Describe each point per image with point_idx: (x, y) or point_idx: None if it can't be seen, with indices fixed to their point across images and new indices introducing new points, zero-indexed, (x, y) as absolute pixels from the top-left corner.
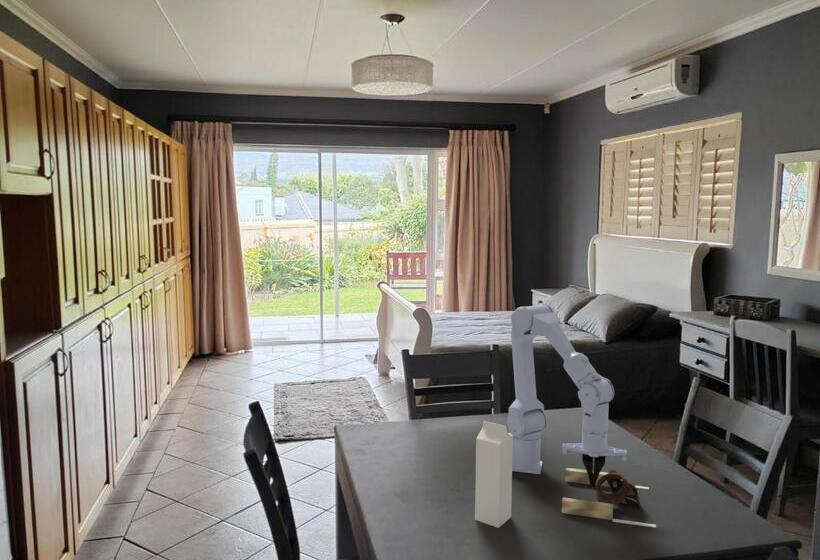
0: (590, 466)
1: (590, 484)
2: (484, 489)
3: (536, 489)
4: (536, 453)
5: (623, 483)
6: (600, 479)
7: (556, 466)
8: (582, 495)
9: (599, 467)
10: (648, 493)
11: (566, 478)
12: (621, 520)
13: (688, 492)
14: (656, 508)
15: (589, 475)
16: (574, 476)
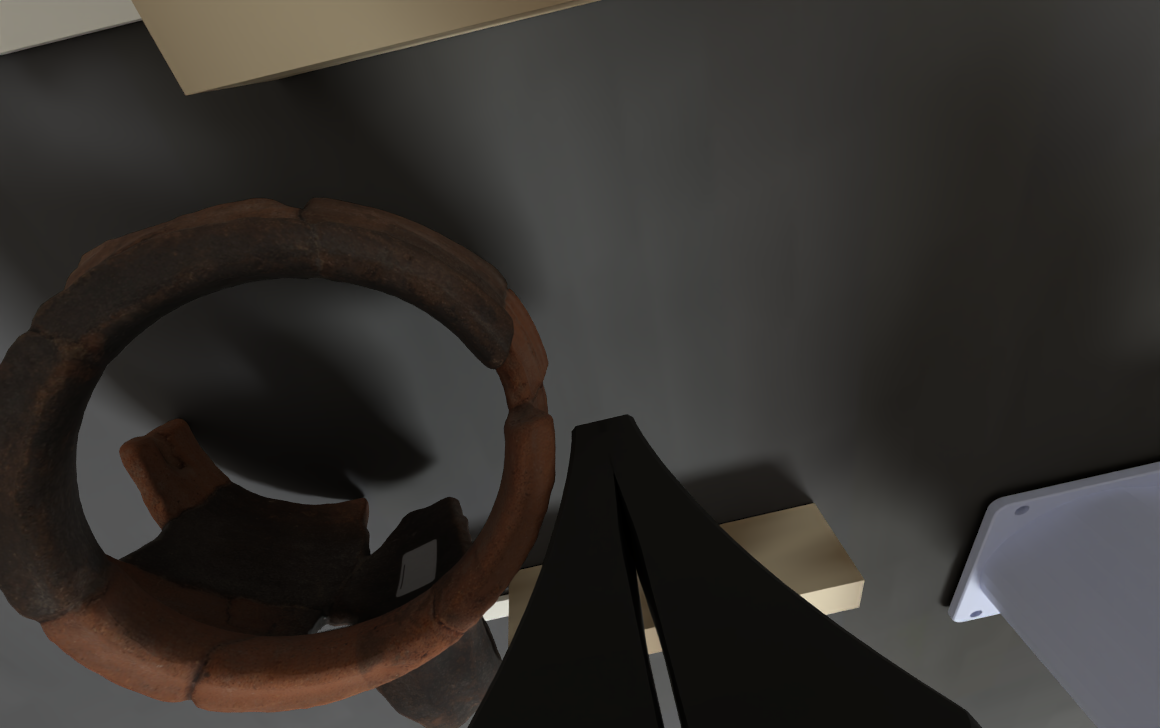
0: (732, 670)
1: (631, 426)
2: None
3: (1063, 288)
4: (1141, 651)
5: (325, 600)
6: (521, 523)
7: (862, 617)
8: (675, 379)
9: (525, 718)
10: None
11: (819, 522)
12: (111, 5)
13: (76, 713)
14: None
15: (680, 507)
16: (772, 555)
